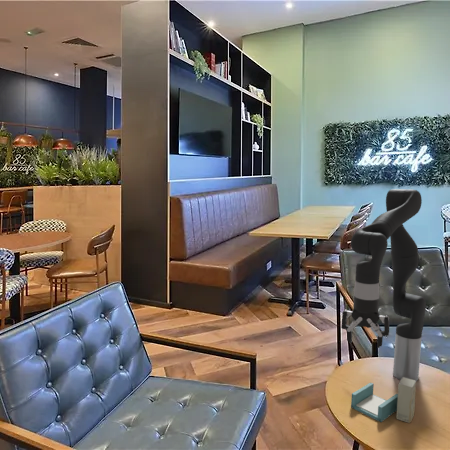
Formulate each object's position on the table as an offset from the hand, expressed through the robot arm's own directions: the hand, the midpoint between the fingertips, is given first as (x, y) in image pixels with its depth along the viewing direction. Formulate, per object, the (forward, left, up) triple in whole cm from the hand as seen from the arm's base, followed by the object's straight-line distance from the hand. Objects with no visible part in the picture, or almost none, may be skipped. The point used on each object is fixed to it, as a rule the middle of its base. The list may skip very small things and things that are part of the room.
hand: (364, 344), depth 132 cm
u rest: (-9, 0, -25) cm, 27 cm away
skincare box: (-12, +9, -26) cm, 30 cm away
